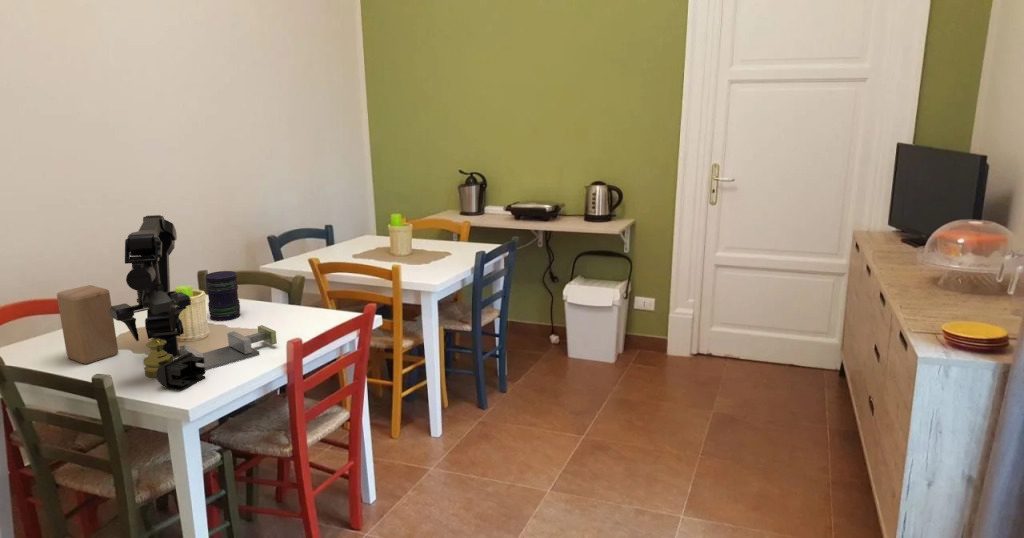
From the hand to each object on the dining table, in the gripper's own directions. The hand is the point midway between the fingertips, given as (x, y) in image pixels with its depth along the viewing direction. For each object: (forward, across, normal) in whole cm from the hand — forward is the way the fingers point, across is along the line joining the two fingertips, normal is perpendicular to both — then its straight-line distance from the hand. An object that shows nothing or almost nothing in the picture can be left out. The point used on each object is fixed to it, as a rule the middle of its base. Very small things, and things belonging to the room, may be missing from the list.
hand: (155, 336), depth 185 cm
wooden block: (+11, -8, +27) cm, 30 cm away
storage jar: (+11, +35, +34) cm, 50 cm away
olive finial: (+11, 0, 0) cm, 11 cm away
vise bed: (+11, +16, -2) cm, 19 cm away
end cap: (+11, +1, -11) cm, 16 cm away
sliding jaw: (+9, +26, -2) cm, 28 cm away
